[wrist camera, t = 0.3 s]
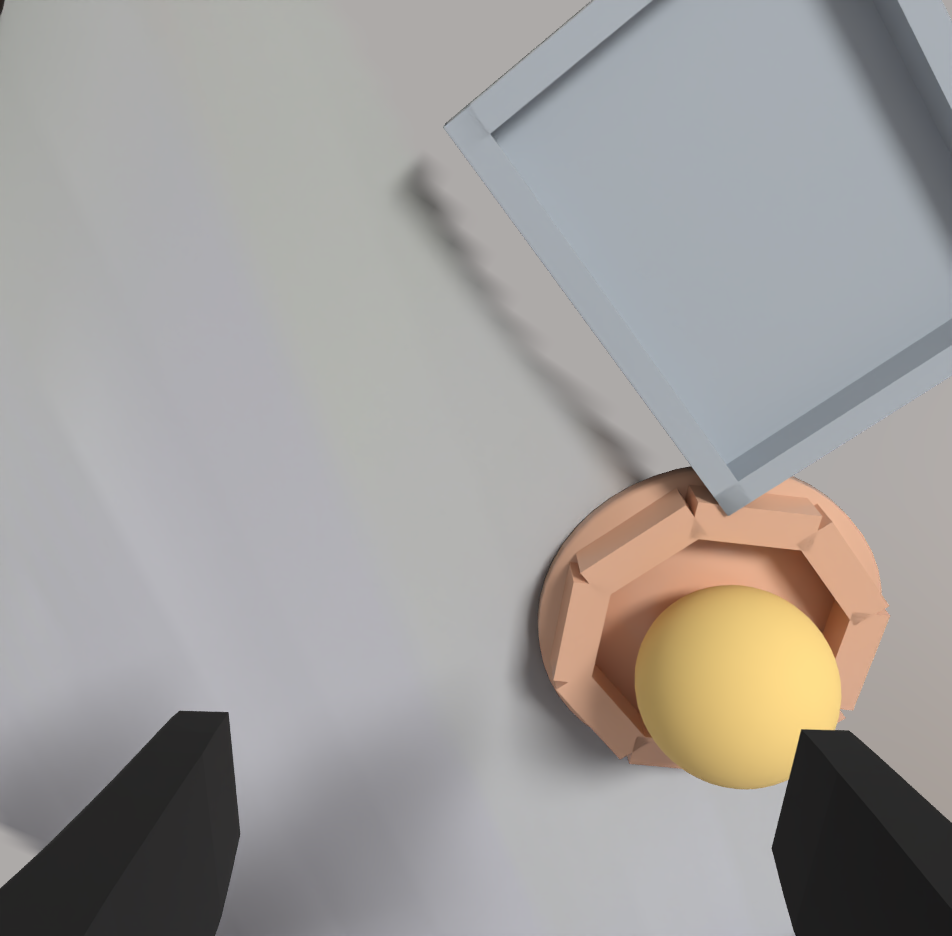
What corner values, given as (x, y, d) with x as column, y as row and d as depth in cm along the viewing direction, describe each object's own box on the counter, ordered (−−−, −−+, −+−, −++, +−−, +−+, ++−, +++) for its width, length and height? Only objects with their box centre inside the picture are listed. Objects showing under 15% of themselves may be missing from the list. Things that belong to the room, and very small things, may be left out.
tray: (1035, 277, 18) (1081, 293, 17) (710, 486, 20) (728, 516, 19) (807, -182, 15) (842, -208, 13) (445, 123, 17) (443, 127, 15)
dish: (929, 638, 22) (958, 673, 21) (653, 791, 24) (664, 831, 23) (766, 394, 19) (788, 416, 18) (470, 590, 21) (470, 623, 20)
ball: (830, 639, 21) (915, 769, 17) (680, 724, 22) (727, 865, 18) (741, 515, 20) (810, 626, 16) (585, 613, 21) (612, 740, 17)
